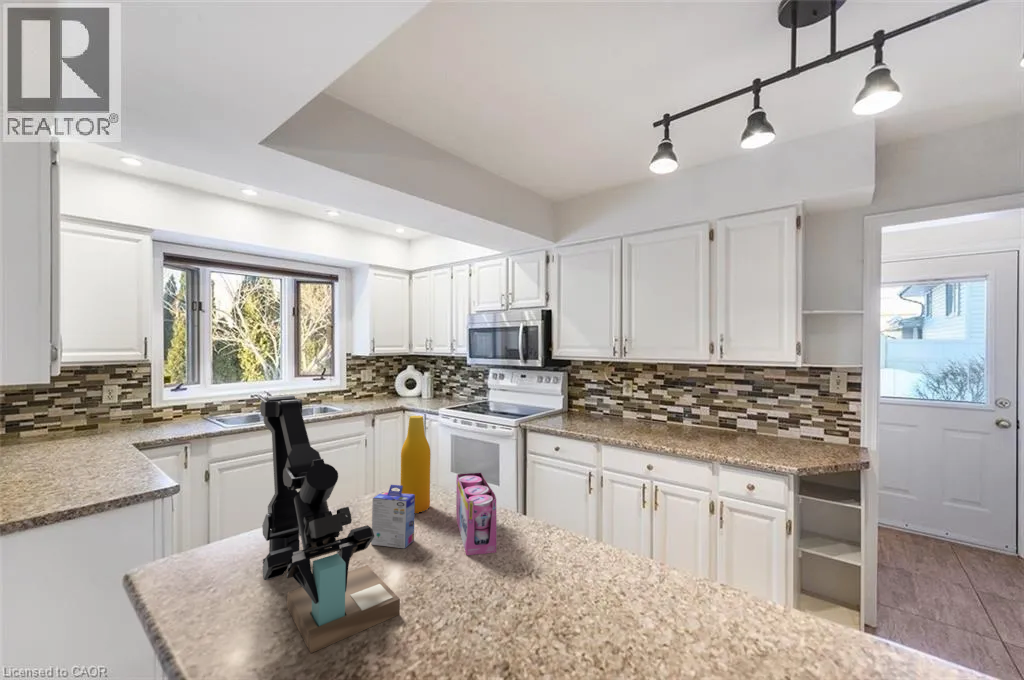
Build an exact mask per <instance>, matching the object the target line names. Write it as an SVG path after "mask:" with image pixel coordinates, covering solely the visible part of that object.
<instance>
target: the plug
mask: <svg viewBox="0 0 1024 680" xmlns="http://www.w3.org/2000/svg"><path fill="white" fill-rule="evenodd" d="M311 571H312V575H313V578H314V582H315V585H316V589H317V593H318V600H319V601H318V603H317V604H315V603H314V602H313V600H312V618H313V620H314V621H315V623H316V625H317V626H318V627H319V626H321V625H324V624H326V623H329V622H331V621H334V620H336V619H339V618H341V617H344V616H345V574H346V563H345V561H344V560H343V559H342V558H341V557H340V556H339V555H338V554H337V553H334V554H331V555H328V556H324V557H322V558H318V559H315V560H312V567H311Z"/></svg>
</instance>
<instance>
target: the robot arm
mask: <svg viewBox="0 0 1024 680" xmlns="http://www.w3.org/2000/svg"><path fill="white" fill-rule="evenodd" d="M260 416H261V417H263V423H264V425H265V427H267V429H268V430H269V431H270V433H271V440H272V441H271V443H272V444H271V445H272V446H271V447H272V461H273V462H272V463H273V481H274V482H273V483H274V494H273V495H272V498H271V499H270V501H269V504H268V505H267V513H266V514H265V516H264V519H263V522H262V536H263V537H264V539H265V541H266V542H269V544H268V545H269V547H268V554H267V555H266V556H265V558H262V562H263V565H262V577H263V581H269V580H272V579H275V578H278V577H282V576H283V575H284V574H285V573H286V571H287V573H286V578H287V579H291V578H292V579H294V580H295V582H296V583H298V584H299V585H300V586H301V587H303V588H304V590H305V591H306V592H307V594H308V595H309V596H310V598H311V599H312V600H313V602H314V603H315V604H317V603H318V601H319V600H318V593H317V589H316V585H315V582H314V578H313V575H312V567H311V560H312V559H315V558H320V557H322V556H325V555H329V554H331V553H335V552H336V554H338V555H339V556H340V557H341V558H342V559H343V560H344V561H345V563H346V574H345V592H346V588H347V577H348V572H349V564H350V560H351V558H352V557H353V555H354V554H355V553H358V552H361V551H364V550H366V549H368V547H369V546H370V545H371V541H372V540H373V538H374V537H375V536H374V533H373V529H372V526H369V525H364V526H360V527H356V528H352V529H350V531H349V533H348V535H347V536H346V537H343V538H340V539H336V538H338V537H339V536H340V532H343V531H344V529H343V527H344V526H347V525H351V523H352V522H353V521H352V513H351V511H350V507H349V506H345V507H341V508H339V509H336V513H335V514H333V513H332V510H330V509H329V505H328V500H329V499H330V497H331V495H332V493H333V491H334V489H335V486H336V484H337V482H338V479H339V472H338V470H336V468H335V467H334V466H333V465H331V464H328V463H326V462H325V461H324V458H321V455H320V452H319V451H317V450H316V449H315V448H313V447H312V446H311V443H310V439H309V436H308V435H309V434H308V433H307V427H306V424H305V421H304V417H303V399H302V398H297V397H296V396H295V395H293V394H291V395H274V396H266V398H265V400H264V401H260ZM299 489H300V490H299ZM297 490H299V491H297ZM300 539H301V545H302V549H300V546H301V545H300Z"/></svg>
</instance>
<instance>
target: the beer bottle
mask: <svg viewBox="0 0 1024 680" xmlns="http://www.w3.org/2000/svg"><path fill="white" fill-rule="evenodd" d="M424 423H425V422H424V416H423V415H411V416H409V417H408V427H407V434H406V438H405V440H404V442H403V445H402V446H401V451H400V486H403V488H402V494H415V512H414V513H417V514H420V513H419V512H422V511H425V510H426V511H428V510H429V509H430V506H431V447H430V444H429V442H428V440H427V437H426V434H425V425H424ZM428 508H429V509H428ZM427 509H428V510H427ZM426 511H425V512H426ZM422 513H423V512H422Z"/></svg>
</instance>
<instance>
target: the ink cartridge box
mask: <svg viewBox="0 0 1024 680" xmlns="http://www.w3.org/2000/svg"><path fill="white" fill-rule="evenodd" d="M402 488H403V486H401V484H399V485H398V484H390V486H389V488H388V492H382V491H381V492H380V493H378V494H377V495H375V496H374V497H373V498H372V505H371V506H372V509H371V510H372V511H371V528H372V529H373V533H374V536H375V537H374V538H373V540H372V541H371V543H370V545H372V546H381V547H391V548H397V549H406V548H407V547H408V546H410V544H412V543H413V542H414V541H415V514H414V512H415V494H402ZM392 489H399V490H398V491H397V490H392Z"/></svg>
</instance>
